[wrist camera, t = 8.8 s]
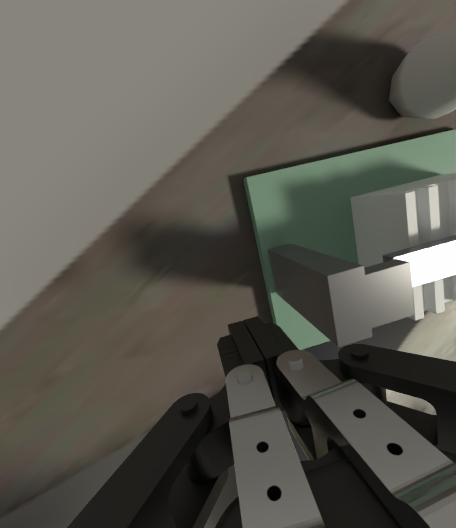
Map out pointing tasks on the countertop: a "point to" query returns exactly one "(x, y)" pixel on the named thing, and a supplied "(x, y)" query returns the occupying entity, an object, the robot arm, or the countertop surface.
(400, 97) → the salt shaker
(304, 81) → the countertop surface
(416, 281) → the strap
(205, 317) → the countertop surface
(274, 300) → the heatsink base
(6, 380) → the countertop surface
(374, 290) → the block
